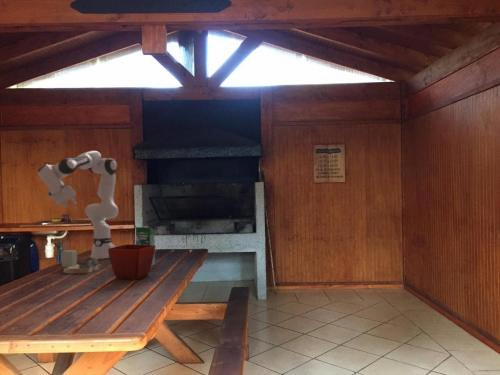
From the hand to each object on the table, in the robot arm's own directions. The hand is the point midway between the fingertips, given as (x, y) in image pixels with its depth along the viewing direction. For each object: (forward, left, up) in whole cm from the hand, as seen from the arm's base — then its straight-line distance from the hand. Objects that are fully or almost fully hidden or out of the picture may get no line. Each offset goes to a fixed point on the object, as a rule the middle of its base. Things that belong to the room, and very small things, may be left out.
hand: (71, 205), depth 263 cm
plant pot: (+26, +53, -39) cm, 71 cm away
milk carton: (-8, +46, -39) cm, 61 cm away
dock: (+11, +14, -39) cm, 43 cm away
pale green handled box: (+6, +2, -39) cm, 39 cm away
